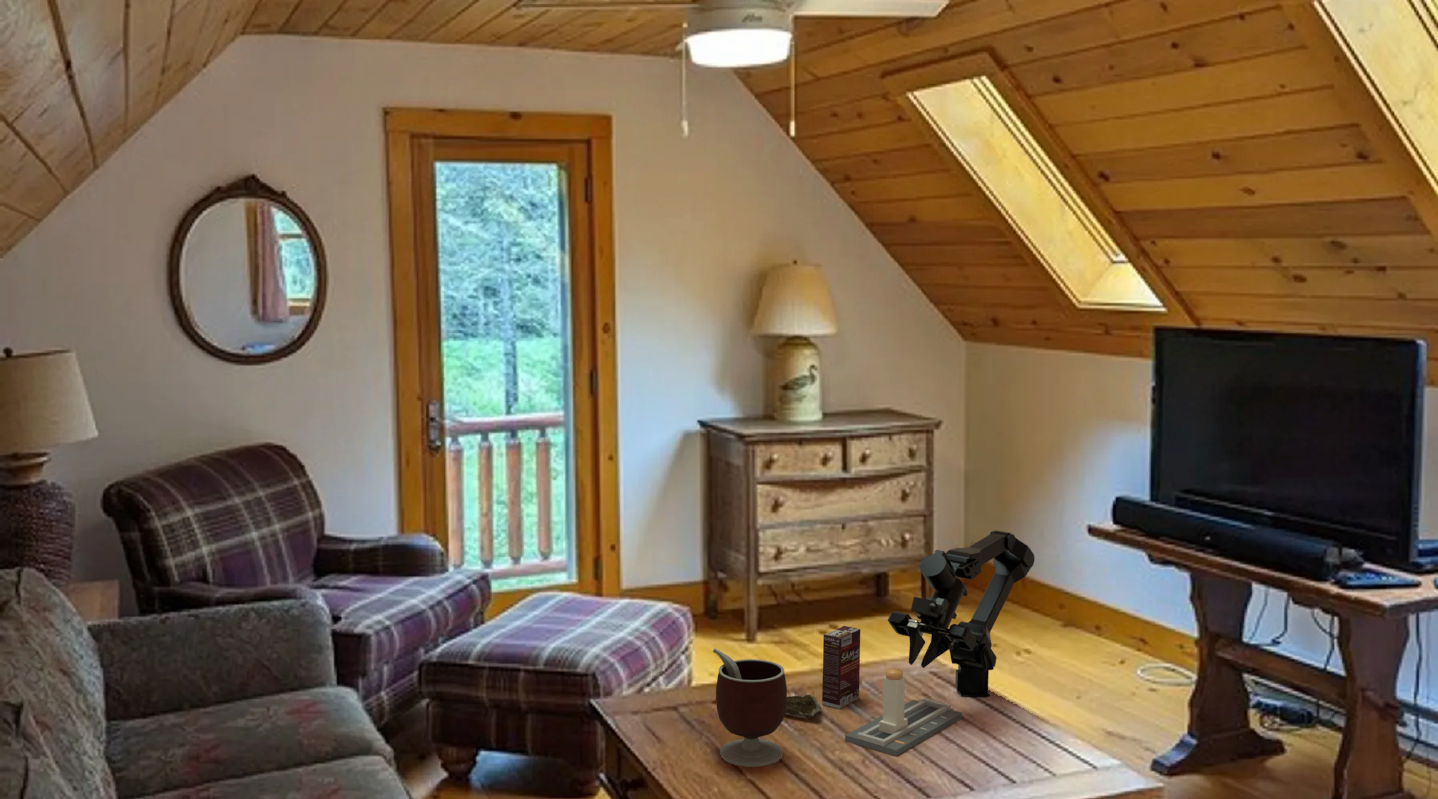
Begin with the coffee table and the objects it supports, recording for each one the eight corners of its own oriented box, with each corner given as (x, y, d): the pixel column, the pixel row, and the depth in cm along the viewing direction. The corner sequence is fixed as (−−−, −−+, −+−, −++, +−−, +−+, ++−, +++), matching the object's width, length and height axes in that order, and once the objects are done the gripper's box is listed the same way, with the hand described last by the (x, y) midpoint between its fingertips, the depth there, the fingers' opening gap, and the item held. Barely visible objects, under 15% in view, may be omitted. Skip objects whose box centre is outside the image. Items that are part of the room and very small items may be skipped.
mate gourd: (798, 748, 247) (799, 651, 245) (765, 774, 235) (765, 671, 233) (731, 733, 255) (731, 639, 253) (695, 757, 243) (695, 658, 241)
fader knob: (892, 723, 257) (893, 665, 255) (907, 728, 254) (908, 669, 253) (879, 731, 253) (879, 672, 251) (894, 735, 251) (895, 675, 249)
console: (913, 704, 271) (913, 695, 271) (962, 718, 263) (962, 708, 263) (845, 740, 251) (845, 730, 251) (895, 756, 244) (896, 745, 243)
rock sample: (834, 691, 268) (812, 673, 263) (835, 724, 263) (812, 705, 258) (794, 704, 273) (771, 686, 268) (794, 736, 268) (771, 719, 263)
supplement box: (840, 709, 268) (840, 638, 266) (821, 705, 271) (821, 634, 269) (860, 698, 275) (861, 628, 273) (842, 693, 278) (842, 624, 276)
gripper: (893, 574, 267) (863, 636, 260) (970, 589, 255) (942, 655, 248) (911, 601, 274) (883, 663, 267) (988, 618, 262) (961, 682, 255)
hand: (916, 665), depth 259 cm, fingers open, 3 cm apart
